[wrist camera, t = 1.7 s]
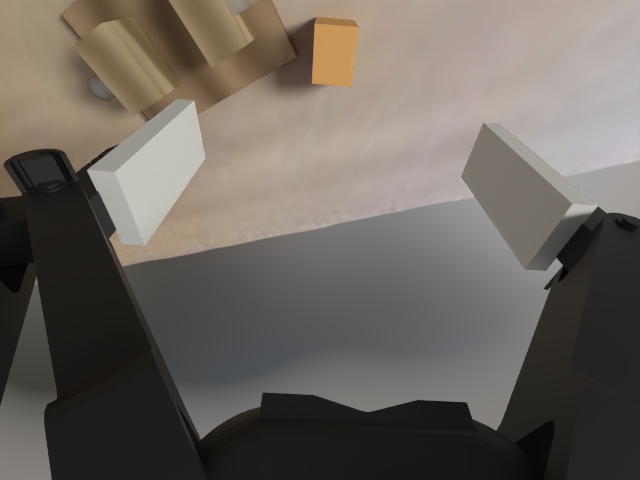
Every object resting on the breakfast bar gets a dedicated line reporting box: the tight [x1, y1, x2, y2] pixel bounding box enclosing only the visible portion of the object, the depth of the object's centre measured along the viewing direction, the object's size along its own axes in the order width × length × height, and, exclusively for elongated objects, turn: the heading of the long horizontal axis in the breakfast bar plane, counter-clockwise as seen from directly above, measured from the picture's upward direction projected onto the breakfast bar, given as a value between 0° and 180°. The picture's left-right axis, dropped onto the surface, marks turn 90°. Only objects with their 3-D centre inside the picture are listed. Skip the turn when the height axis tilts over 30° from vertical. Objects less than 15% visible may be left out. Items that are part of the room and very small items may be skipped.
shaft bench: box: [61, 0, 297, 120], centre depth 30 cm, size 20×14×7 cm
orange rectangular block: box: [312, 17, 359, 87], centre depth 31 cm, size 5×4×6 cm
